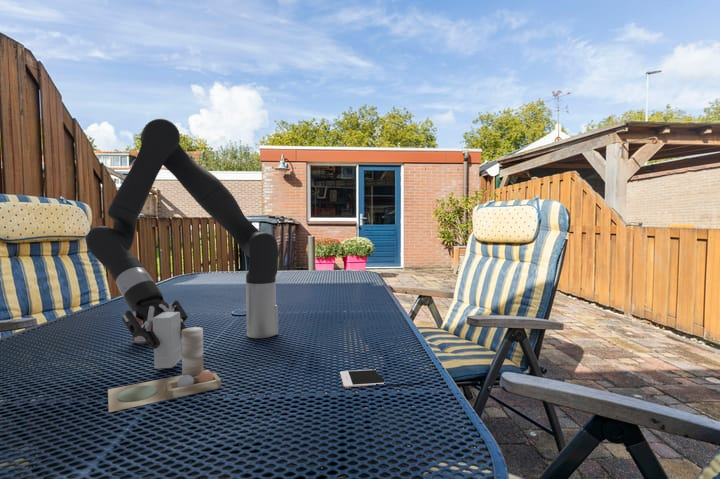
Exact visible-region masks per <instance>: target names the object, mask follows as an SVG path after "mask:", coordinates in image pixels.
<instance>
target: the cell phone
mask: <svg viewBox="0 0 720 479" xmlns="http://www.w3.org/2000/svg"><path fill="white" fill-rule="evenodd" d="M376 369H377V368H376ZM376 369H375V368H374V370H372V369H358V370H357V369H356V370H343V371H342V370H341V371H340V372H339V376H340V375H341V376H340V380H341V379H342V380H341V382H343V383H342V387H343V386H344V387H345V388H344V387H343V388H344V389H346V388H347V389H350V388H349V387H360V386H368V385H376V384H384V383H385V382H384V380H383V378H382V376H378V375H379V374H377V373H376Z"/></svg>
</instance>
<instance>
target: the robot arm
mask: <svg viewBox="0 0 720 479" xmlns="http://www.w3.org/2000/svg"><path fill="white" fill-rule="evenodd" d="M180 140H181V135H180V131H179V129H178V127H177V125H175V123H173V122H172V121H170V120H168V119H165V118H156V119H153V120H152V119H151V121H149V122H147V124H145V126H144V128H143V129H142V131H141V133H140V142H141V143H140V147H139V151H138V152H137V155H136V158H135V160H134V162H133V164H132V165H131V167H130V169H129V171H128V173H127V175H126V176H125V177H124V179H123V181H122V182H121V184H120V186H119V188H118V190H117V191H116V194H115V196H114V197H113V199H112V202H111V204H110V205H109V207H108V210H107V214H108V216H109V218H111V219H112V220H113V227H112V228H111V227H109V226H105V225H98V226H95V227H92V228H91V229H90V230H89V231H88V232H87V235H86V246H87V248H88V250H89V251H90V253H91V254H92V255H93V257H95V259H96V260H97V261H98V262H99V263H100V264H101V265H103V266H104V267H105V268H106V269H107V270H108V272H109V275H111V277H112V279H113V280H114V282H115V284H116V285H117V288H118V291H119V293H120V294H121V296H122V297H123V299H124V301H125V303H126V304H127V306H128V307H129V310H126V311H125V314H123V316H122V318H121V320H122V322H123V323H124V325H125V327H127V330H128V331H129V333H130V334H131V335H132V338H133V337H137V336H142V337H144V338H145V340H146V342H147V343H148V344H147V345H148V347H149V348H152V350H154V349H156V348H158V346H159V345H160V342H159V340H158V338H157V337H156V335H155V334H154V332H153V331H151V325H153V318H154V317H156V316H157V315H159V314H161V313H163V312H180V325H181V331H182V330H183V329H186V328H187V327H186V325H185V324H184V323H185V322H186V321H187V320H188V318H189V317H188V315H187V313H186V312H185V310H184V308H183V307H182V305H181V303H180V302H179V301H178V300H174V301H173V302H172V303H167V302H166V301H165V300H164V296H163V295H164V294H163V293H162V292H161V290H160V288H159V287H158V285H157V284H156V282H155V281H154V280H153V277H152V276H151V274H149V273H148V272H147V270H146V269H145V268H144V266H143V264H142V262H141V261H140V260H139V258H138V257H137V255H135V254H133V253H132V252H130V250H131V248H132V246H133V243H134V240H135V235H136V234H135V233H136V228H137V221H138V219H139V217H140V214H141V213H142V210H143V208H144V207H145V205H146V202H147V200H148V197H149V196H150V193H151V191H152V188H153V186H154V184H155V181H156V179H157V176H158V175H159V173H160V172H161V169H162V167H164V168H166V169H167V170H168V171H169V173H170V174H171V175H173V176H174V177H175V178H176V179H177V181H178V182H179V184H181V186H182V187H183V188H184V189H185V190H186V192H188V194H189V195H190V196H191V197H192V198H193V200H195V202H196V203H197V204H198V205H199V206H200V207H201V209H203V210H204V211H205V212H206V214H208V215H209V216H210V217H211V218H212V219H213V220H214V221H215V222H217V224H218V225H219V226H221V227H222V228H223V229H224V230H225V231H226V232H228V234H229V235H230V236H231V237H232V238H233V240H234V241H235V242H236V244H238V246H239V248H241V250H242V251H243V253H244V254H245V256H247V257H248V258H249V259H248V260H249V261H248V262H249V264H248V265H249V266H248V271H247V272H246V275H245V292H246V297H245V299H246V304H245V305H246V306H245V307H246V308H245V309H246V312H245V313H246V337H248V338H251V339H265V338H271V337H274V336H276V335H279V306H278V304H277V301H276V300H277V297H276V295H277V294H276V293H277V292H276V290H277V289H276V287H277V286H276V284H277V281H276V277H277V274H278V270H279V269H278V268H279V265H278V264H279V246H278V241H277V239H276V238H275V236H274V235H272V234H270V233H269V232H262V231H261V230H259V229H258V228H257V227H255V225H253V223H252V222H251V221H250V220H249V219H248V218H247V216H245V214H244V213H243V211H242V209H241V207H240V205H239V203H238V201H237V200H236V198H235V197H234V195H233V194H232V193H231V192H230V190H229V189H228V188H227V187H226V186H225V184H223V183H222V181H221V180H219V179H218V177H216V176H215V174H212V173H211V172H210V171H209V170H207V169H206V168H204V167H203V166H201V165H200V164H199V163H197V162H196V161H195V160H194V159H192V157H191V156H190V155H189V154H188V152H186V151H185V149H184V148H183V146H182V145H181V144H180ZM136 318H138V319H140V320H141V321H142V326H140V324H139V322H138V321H137V319H136ZM181 340H182V333H181Z"/></svg>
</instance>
